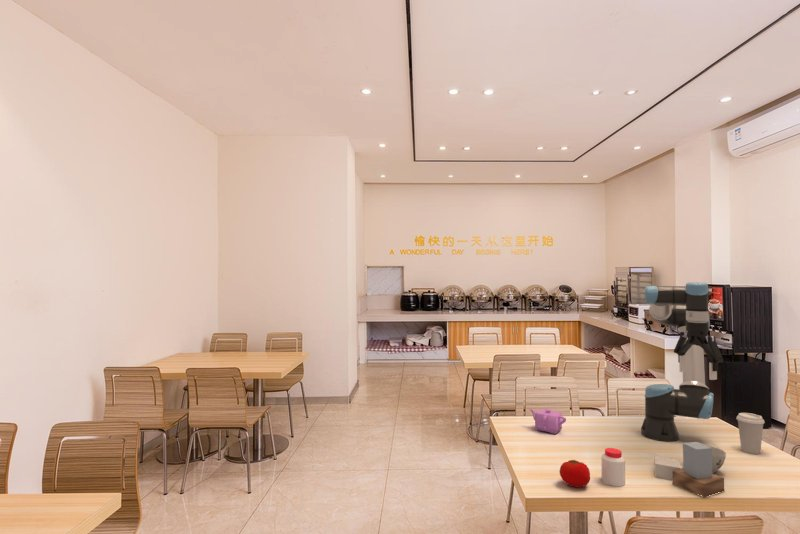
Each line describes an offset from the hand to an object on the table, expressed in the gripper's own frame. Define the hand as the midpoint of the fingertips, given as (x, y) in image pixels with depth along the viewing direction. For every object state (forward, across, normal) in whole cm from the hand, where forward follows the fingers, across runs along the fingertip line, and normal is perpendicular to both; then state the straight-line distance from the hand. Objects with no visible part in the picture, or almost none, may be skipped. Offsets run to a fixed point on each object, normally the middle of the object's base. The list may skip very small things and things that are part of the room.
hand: (697, 375), depth 180 cm
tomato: (+34, +5, -59) cm, 68 cm away
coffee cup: (+36, -6, +33) cm, 49 cm away
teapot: (+35, -49, -36) cm, 71 cm away
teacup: (+35, +4, -3) cm, 35 cm away
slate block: (+29, +17, -18) cm, 39 cm away
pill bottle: (+34, +6, -44) cm, 56 cm away
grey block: (+34, +6, -20) cm, 40 cm away
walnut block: (+35, +17, -18) cm, 43 cm away
